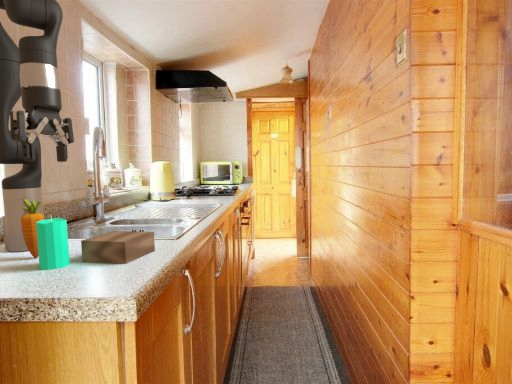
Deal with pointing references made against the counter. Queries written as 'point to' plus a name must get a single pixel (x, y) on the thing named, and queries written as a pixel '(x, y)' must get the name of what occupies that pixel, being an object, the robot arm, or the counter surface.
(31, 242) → the carrot
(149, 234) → the walnut stand
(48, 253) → the candle
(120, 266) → the counter surface
